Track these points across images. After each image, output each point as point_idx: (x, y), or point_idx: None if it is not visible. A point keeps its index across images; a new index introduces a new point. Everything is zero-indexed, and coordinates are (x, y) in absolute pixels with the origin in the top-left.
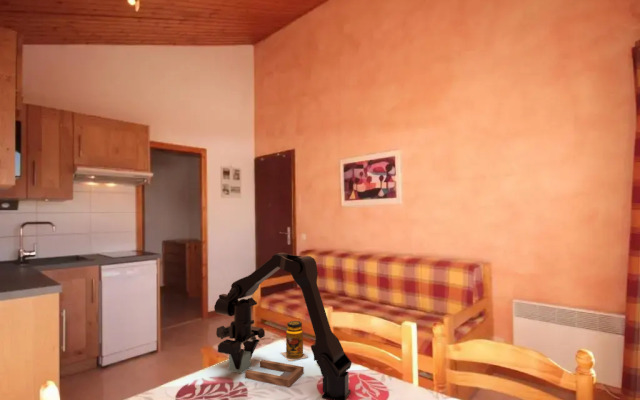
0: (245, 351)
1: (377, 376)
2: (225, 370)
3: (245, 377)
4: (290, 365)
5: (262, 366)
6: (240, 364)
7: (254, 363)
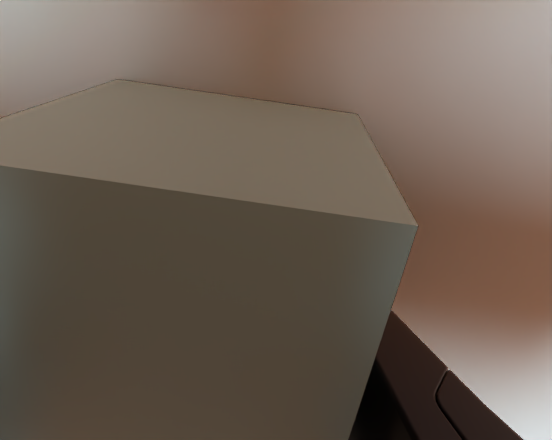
0: (315, 436)
1: None
2: (97, 18)
3: None
4: None
5: None
6: None
7: (431, 310)
